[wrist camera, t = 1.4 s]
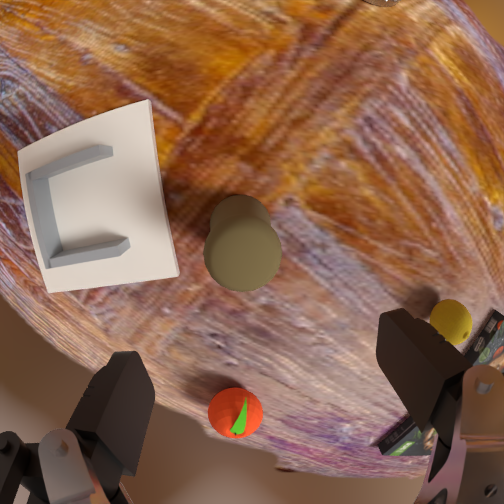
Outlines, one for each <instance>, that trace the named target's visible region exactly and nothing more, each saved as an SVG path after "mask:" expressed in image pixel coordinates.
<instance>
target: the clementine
mask: <svg viewBox="0 0 504 504" xmlns="http://www.w3.org/2000/svg"><path fill="white" fill-rule="evenodd" d="M208 418H209V421H210V423H211V425H212V427H213V428H214V429H215V430H216V431H217V432H218V433H220V434H221V435H223V436H226V437H230V438H242V437H246V436H248V435H250V434H252V433H253V432H254V431H255V430H256V429H257V428H258V427H259V425H260V423H261V421H262V418H263V410H262V406H261V403H260V401H259V400H258V399H257V397H256V396H255V395H254V394H253V393H251V392H249V391H247V390H245V389H242V388H228V389H225V390H223V391H221V392H219V393H217V394H216V395H215V396H214V397H213V399H212V400H211V402H210V404H209V408H208Z"/></svg>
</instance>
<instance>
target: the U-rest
mask: <svg viewBox="0 0 504 504" xmlns="http://www.w3.org/2000/svg"><path fill="white" fill-rule="evenodd" d="M18 162H19V171H20V180H21V187H22V193H23V199H24V205H25V210H26V215H27V220H28V225H29V229H30V234H31V238H32V242H33V246H34V249H35V253H36V257H37V260H38V263H39V267H40V270H41V273H42V276H43V279H44V282H45V285H46V288H47V291H48V293H54V292H62V291H70V290H79V289H87V288H95V287H103V286H110V285H118V284H126V283H134V282H141V281H149V280H156V279H163V278H171V277H178V276H179V274H180V272H179V267H178V263H177V259H176V254H175V249H174V245H173V240H172V235H171V230H170V225H169V220H168V215H167V210H166V204H165V199H164V193H163V187H162V181H161V175H160V169H159V162H158V156H157V149H156V141H155V134H154V125H153V117H152V108H151V101H150V100H148V99H147V100H144V101H140V102H137V103H133V104H130V105H127V106H123V107H120V108H117V109H114V110H111V111H108V112H105V113H102V114H100V115H97V116H94V117H91V118H89V119H86V120H84V121H81V122H78V123H76V124H74V125H71V126H69V127H66V128H64V129H62V130H60V131H57V132H55V133H53V134H51V135H49V136H46V137H44V138H42V139H40V140H38V141H36V142H34V143H32V144H30V145H28V146H26V147H25V148H23V149H21V150H19V151H18Z"/></svg>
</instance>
